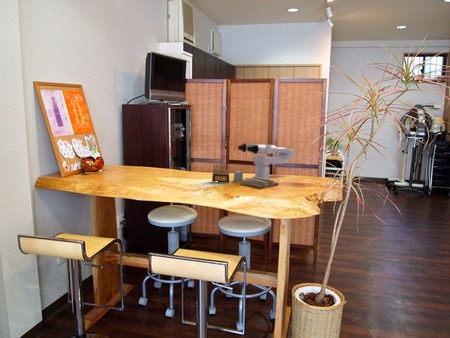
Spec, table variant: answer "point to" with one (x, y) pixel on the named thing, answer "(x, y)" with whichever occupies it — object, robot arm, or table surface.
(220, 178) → the ammunition clip
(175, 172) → the table surface
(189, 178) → the table surface
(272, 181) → the notched board
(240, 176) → the tab block
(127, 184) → the table surface
